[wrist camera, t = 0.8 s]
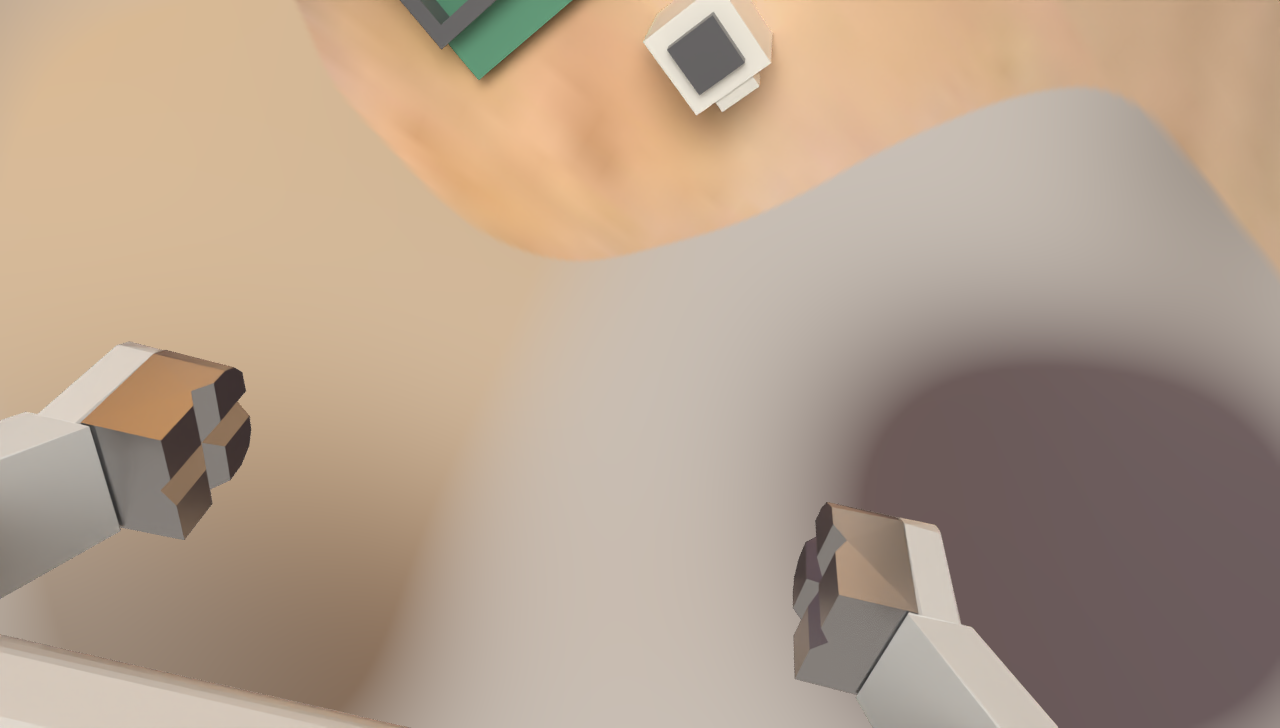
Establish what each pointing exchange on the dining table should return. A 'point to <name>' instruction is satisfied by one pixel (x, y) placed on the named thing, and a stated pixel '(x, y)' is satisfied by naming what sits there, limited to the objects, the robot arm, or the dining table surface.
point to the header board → (482, 26)
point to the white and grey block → (711, 49)
